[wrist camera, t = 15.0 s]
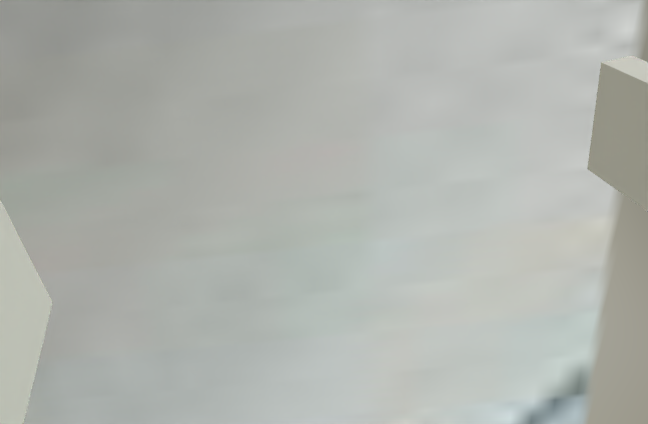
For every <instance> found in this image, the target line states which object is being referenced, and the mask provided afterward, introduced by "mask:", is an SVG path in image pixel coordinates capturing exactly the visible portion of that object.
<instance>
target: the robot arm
mask: <svg viewBox="0 0 648 424" xmlns="http://www.w3.org/2000/svg"><path fill="white" fill-rule="evenodd" d="M588 170H590V171H591V172H593V173H594V174H595V175H597V176H598V177H600V178H601V179H602V180H604V181H605V182H607V183H608V184H609V185H611V186H612V187H614V188H615V189H616V190H618V191H619V192H621V193H622V194H623V195H625V196H626V197H628V198H629V199H630V200H632V201H633V202H635V203H636V204H638V205H639V206H640V207H642V208H643V209H644V210H646V211H647V212H648V62H646V61H644V60H641V59H639V58H636V57H634V56H628V57H623V58H619V59H614V60H610V61H605V62H601V69H600V76H599V84H598V92H597V100H596V107H595V115H594V123H593V130H592V138H591V146H590V154H589V161H588ZM52 303H53V302H52V300H51V299H50V297H49V295H48V293H47V291H46V289H45V287H44V285H43V283H42V281H41V279H40V277H39V275H38V273H37V271H36V269H35V267H34V265H33V263H32V261H31V259H30V257H29V255H28V253H27V251H26V249H25V247H24V245H23V243H22V241H21V239H20V238H19V236H18V234H17V232H16V230H15V228H14V226H13V224H12V222H11V220H10V218H9V216H8V214H7V212H6V210H5V208H4V206H3V204H2V202H1V200H0V424H24V420H25V416H26V411H27V407H28V403H29V399H30V395H31V391H32V387H33V382H34V378H35V374H36V370H37V366H38V362H39V357H40V353H41V349H42V345H43V341H44V337H45V333H46V328H47V324H48V320H49V316H50V312H51V308H52Z"/></svg>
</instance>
